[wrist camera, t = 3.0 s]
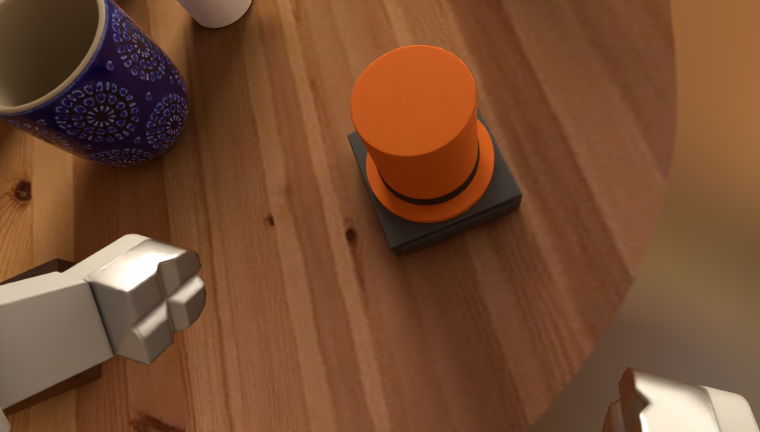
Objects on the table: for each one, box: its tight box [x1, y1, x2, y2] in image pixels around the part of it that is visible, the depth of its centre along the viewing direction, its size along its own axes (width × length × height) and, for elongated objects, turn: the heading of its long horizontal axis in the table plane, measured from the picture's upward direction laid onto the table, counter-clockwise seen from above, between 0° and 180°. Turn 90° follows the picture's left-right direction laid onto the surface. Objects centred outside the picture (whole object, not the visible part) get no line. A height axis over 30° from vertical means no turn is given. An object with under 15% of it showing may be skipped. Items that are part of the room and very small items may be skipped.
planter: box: [0, 0, 189, 167], centre depth 35 cm, size 11×11×11 cm
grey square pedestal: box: [348, 107, 522, 256], centre depth 32 cm, size 9×9×2 cm
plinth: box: [0, 259, 101, 416], centre depth 34 cm, size 9×9×3 cm
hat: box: [351, 45, 494, 223], centre depth 27 cm, size 8×8×8 cm
